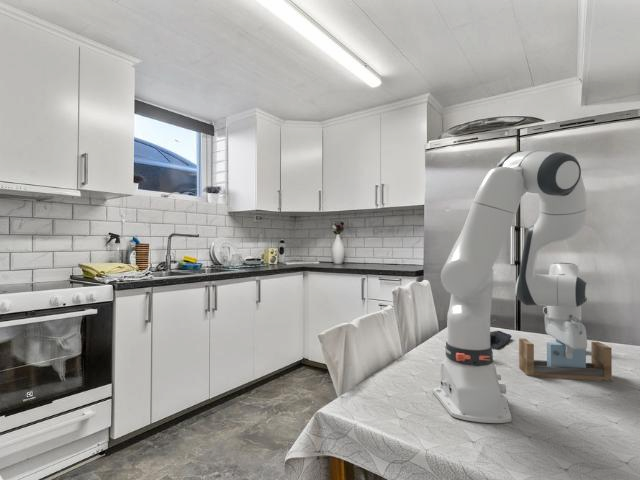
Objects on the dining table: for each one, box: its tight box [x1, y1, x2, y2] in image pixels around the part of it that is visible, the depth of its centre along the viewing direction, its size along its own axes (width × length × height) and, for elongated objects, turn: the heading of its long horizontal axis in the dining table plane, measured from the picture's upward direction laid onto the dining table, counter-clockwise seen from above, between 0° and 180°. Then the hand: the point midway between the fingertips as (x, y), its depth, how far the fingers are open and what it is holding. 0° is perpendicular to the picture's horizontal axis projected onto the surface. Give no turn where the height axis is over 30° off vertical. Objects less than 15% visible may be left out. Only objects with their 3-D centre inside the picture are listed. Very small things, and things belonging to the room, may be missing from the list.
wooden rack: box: [518, 337, 613, 382], centre depth 116 cm, size 8×24×10 cm, turn 80°
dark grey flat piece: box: [490, 330, 512, 350], centre depth 154 cm, size 15×22×5 cm
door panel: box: [546, 341, 587, 368], centre depth 115 cm, size 4×10×8 cm, turn 79°
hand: (565, 355), depth 116 cm, fingers closed on door panel, 3 cm apart
